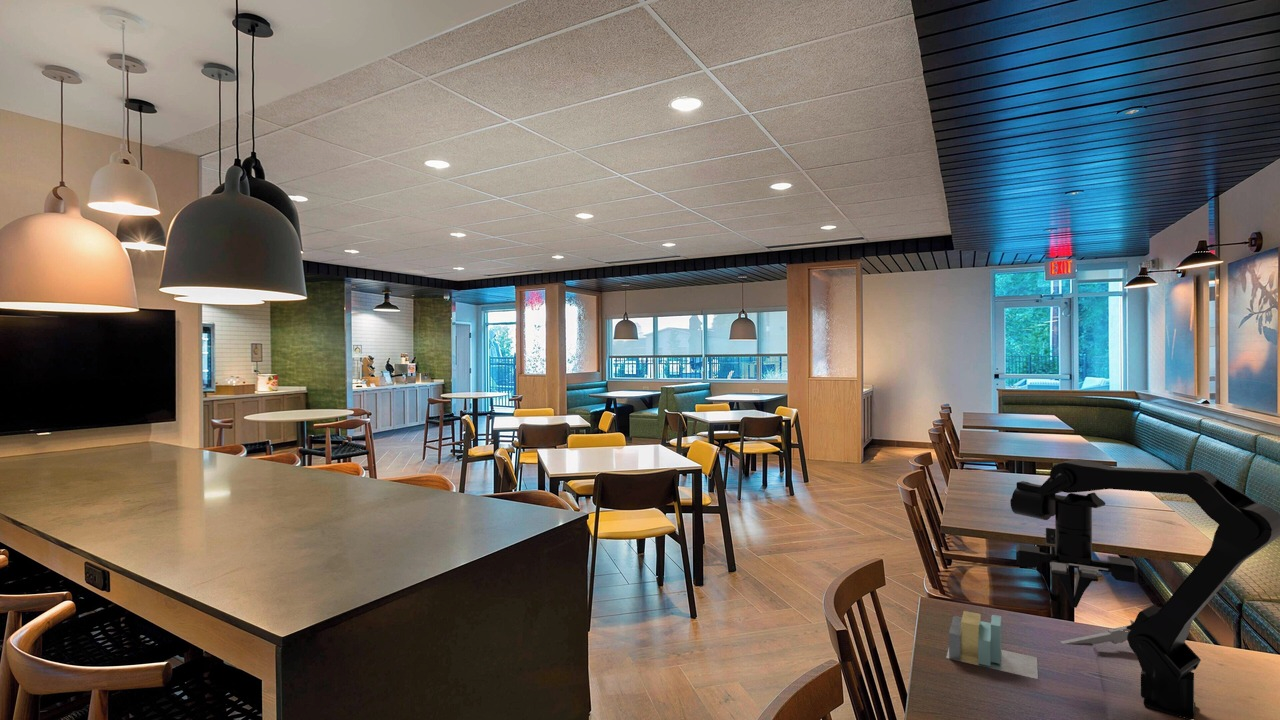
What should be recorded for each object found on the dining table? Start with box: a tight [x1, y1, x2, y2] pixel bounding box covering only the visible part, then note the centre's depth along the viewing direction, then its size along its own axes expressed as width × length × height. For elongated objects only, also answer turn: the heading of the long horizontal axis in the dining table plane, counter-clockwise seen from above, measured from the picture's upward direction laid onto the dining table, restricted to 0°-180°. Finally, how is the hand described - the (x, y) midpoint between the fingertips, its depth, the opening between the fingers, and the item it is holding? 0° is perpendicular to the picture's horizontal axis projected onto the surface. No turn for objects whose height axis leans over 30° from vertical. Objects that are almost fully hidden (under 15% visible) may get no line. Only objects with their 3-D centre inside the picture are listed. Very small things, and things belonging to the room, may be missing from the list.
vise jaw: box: [978, 614, 1003, 666], centre depth 119 cm, size 4×9×7 cm, turn 147°
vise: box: [945, 615, 1039, 680], centre depth 119 cm, size 15×9×6 cm, turn 57°
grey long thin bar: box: [1060, 619, 1135, 645], centre depth 124 cm, size 20×1×6 cm, turn 90°
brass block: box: [961, 610, 982, 661], centre depth 120 cm, size 3×6×7 cm, turn 148°
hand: (1073, 606), depth 117 cm, fingers closed
